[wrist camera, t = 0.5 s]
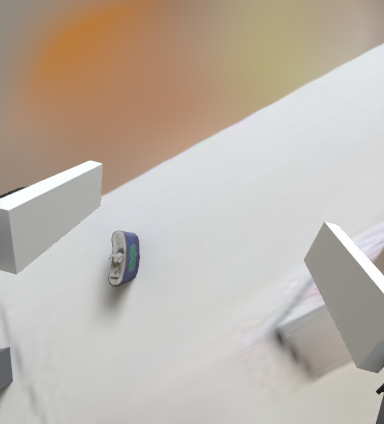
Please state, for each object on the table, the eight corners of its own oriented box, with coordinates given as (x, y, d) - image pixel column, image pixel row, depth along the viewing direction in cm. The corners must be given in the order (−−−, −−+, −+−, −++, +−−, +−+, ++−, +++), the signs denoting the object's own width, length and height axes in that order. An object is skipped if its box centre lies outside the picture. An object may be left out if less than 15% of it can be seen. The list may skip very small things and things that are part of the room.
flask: (126, 232, 48) (107, 229, 38) (141, 233, 48) (126, 229, 38) (123, 279, 47) (103, 289, 37) (138, 280, 47) (122, 290, 36)
